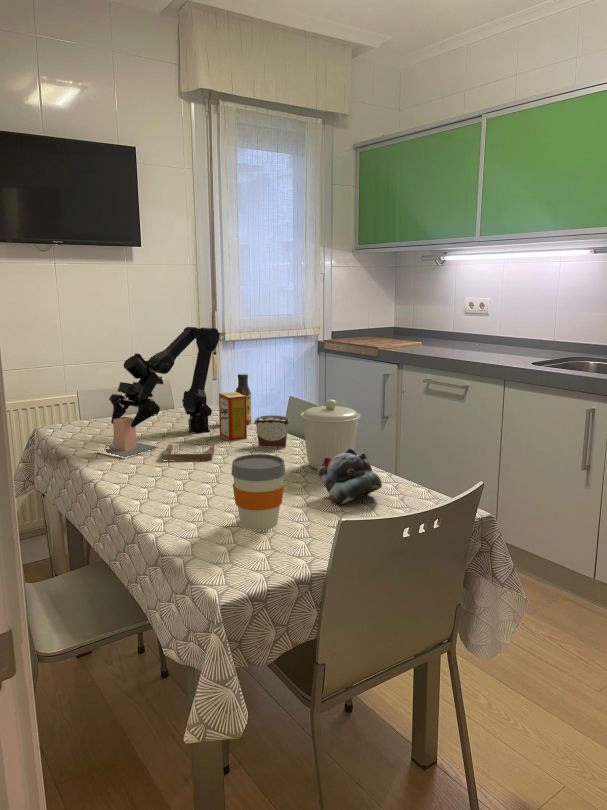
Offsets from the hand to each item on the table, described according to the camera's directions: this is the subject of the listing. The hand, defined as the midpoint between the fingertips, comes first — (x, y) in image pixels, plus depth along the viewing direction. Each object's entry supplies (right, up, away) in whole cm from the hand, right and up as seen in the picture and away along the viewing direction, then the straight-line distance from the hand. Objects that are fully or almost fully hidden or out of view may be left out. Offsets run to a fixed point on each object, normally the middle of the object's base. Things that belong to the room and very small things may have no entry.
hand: (121, 425), depth 204 cm
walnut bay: (+23, -10, -2) cm, 25 cm away
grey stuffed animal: (+72, -18, -40) cm, 85 cm away
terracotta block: (+1, -8, +3) cm, 8 cm away
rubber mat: (+1, -9, +3) cm, 9 cm away
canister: (+68, -13, -13) cm, 70 cm away
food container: (+49, -7, +12) cm, 51 cm away
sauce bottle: (+36, -1, +43) cm, 56 cm away
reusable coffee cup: (+49, -21, -57) cm, 78 cm away
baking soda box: (+34, -5, +22) cm, 41 cm away
